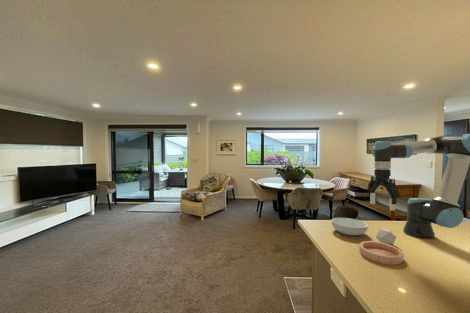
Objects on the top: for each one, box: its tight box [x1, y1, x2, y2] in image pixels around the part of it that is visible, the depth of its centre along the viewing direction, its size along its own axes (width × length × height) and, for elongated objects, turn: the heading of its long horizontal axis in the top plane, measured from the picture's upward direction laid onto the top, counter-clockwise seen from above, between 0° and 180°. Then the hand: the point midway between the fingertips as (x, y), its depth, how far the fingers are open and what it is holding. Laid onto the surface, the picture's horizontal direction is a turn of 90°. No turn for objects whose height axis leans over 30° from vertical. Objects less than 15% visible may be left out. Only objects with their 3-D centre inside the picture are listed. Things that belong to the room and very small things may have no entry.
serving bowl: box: [331, 217, 369, 236], centre depth 139 cm, size 21×21×7 cm
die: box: [375, 228, 397, 246], centre depth 122 cm, size 8×9×10 cm
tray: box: [358, 240, 405, 266], centre depth 109 cm, size 18×18×4 cm
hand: (382, 206), depth 121 cm, fingers open, 13 cm apart
